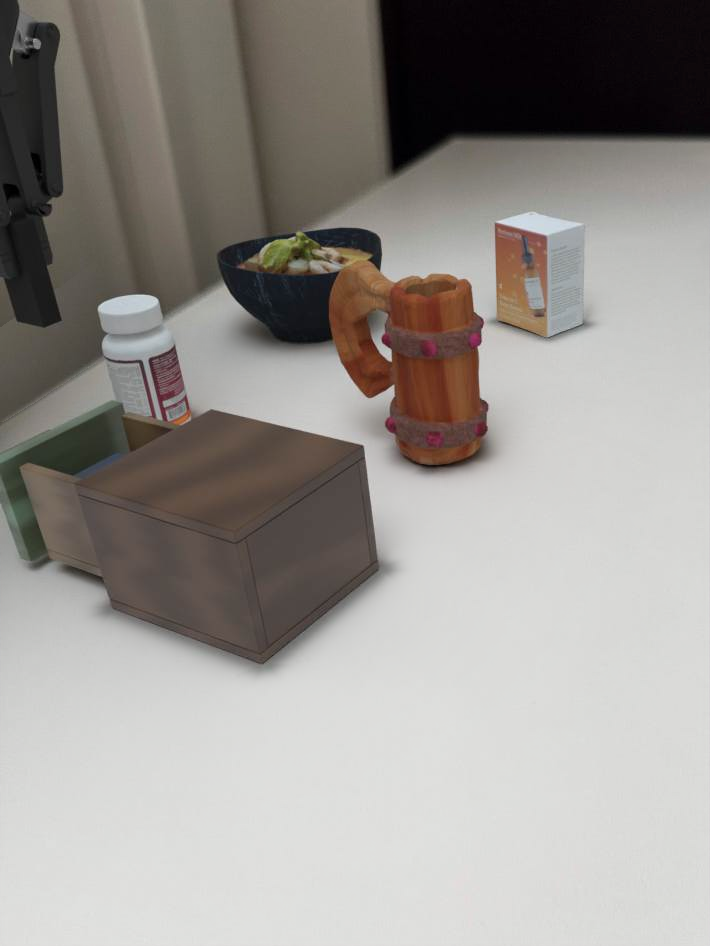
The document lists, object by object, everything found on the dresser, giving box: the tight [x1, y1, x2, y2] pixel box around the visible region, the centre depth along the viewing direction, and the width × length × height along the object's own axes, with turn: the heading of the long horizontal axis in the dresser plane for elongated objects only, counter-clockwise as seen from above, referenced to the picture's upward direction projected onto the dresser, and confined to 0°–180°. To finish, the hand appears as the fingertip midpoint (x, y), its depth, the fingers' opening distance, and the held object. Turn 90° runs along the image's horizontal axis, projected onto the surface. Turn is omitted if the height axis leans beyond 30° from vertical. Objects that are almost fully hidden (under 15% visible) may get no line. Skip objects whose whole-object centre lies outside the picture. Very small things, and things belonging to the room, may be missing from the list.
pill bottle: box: [97, 294, 192, 425], centre depth 93 cm, size 6×6×11 cm
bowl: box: [216, 227, 383, 344], centre depth 112 cm, size 17×17×10 cm
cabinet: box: [74, 408, 380, 664], centre depth 71 cm, size 14×13×10 cm
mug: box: [329, 260, 490, 466], centre depth 86 cm, size 15×8×15 cm, turn 56°
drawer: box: [0, 399, 181, 578], centre depth 76 cm, size 18×11×8 cm, turn 59°
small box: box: [494, 211, 586, 339], centre depth 111 cm, size 8×6×10 cm
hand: (39, 320), depth 70 cm, fingers closed
